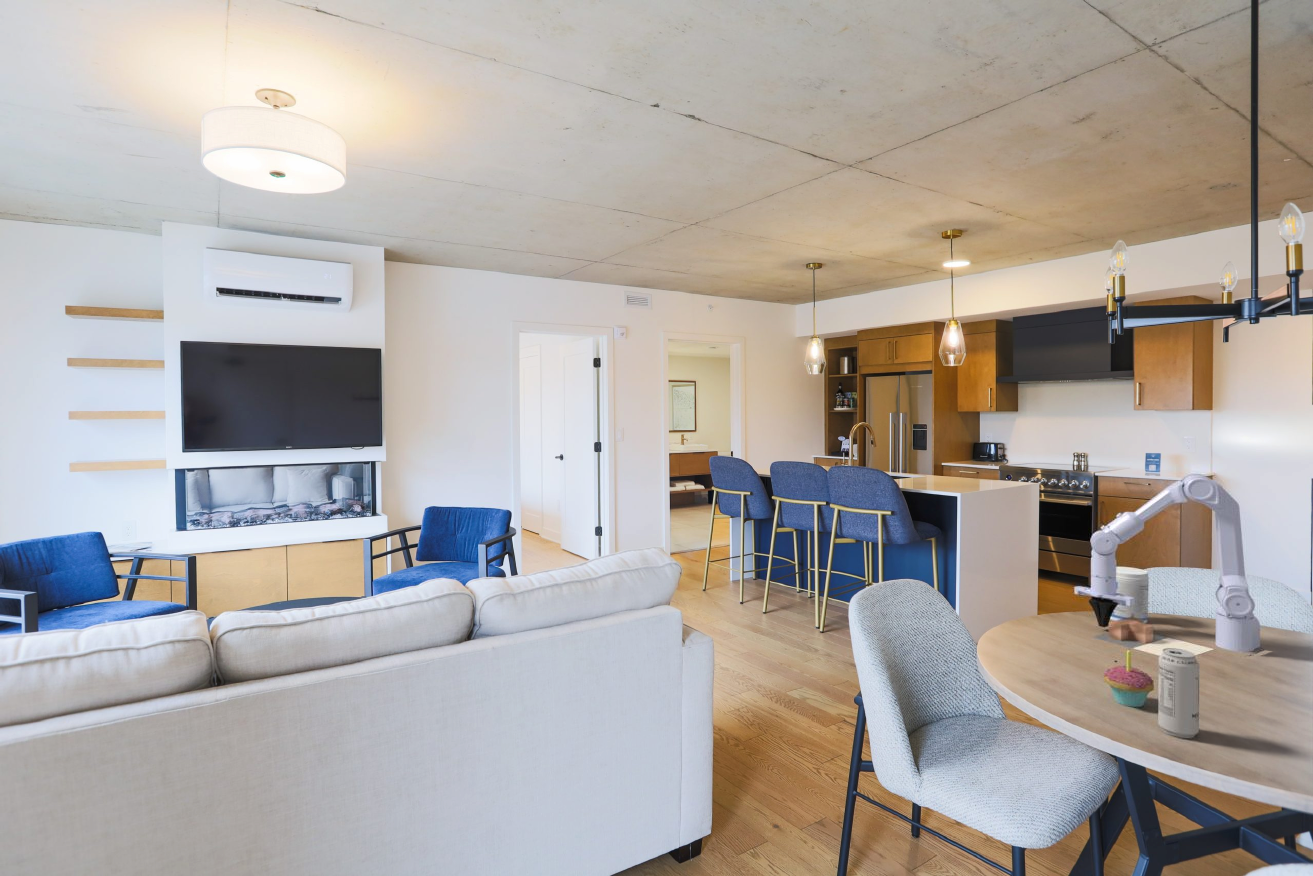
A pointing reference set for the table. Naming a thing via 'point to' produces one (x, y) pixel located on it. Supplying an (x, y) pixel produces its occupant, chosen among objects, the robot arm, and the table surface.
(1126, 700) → the cupcake
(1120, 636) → the t block
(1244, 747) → the table surface
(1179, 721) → the energy drink can
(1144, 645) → the board
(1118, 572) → the supplement tub
